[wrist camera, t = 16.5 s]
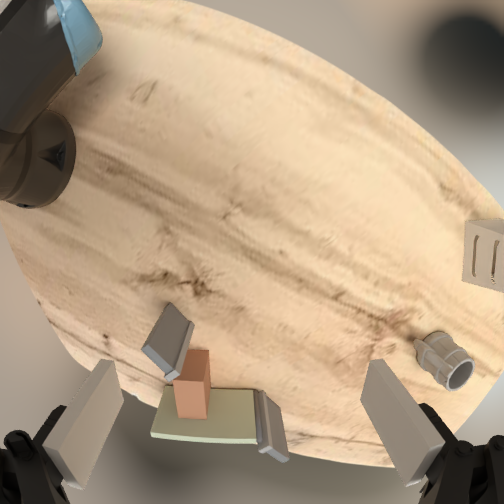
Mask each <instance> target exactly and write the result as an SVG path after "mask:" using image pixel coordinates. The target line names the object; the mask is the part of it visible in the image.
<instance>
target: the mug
mask: <svg viewBox="0 0 504 504" xmlns="http://www.w3.org/2000/svg"><path fill="white" fill-rule="evenodd" d="M413 344H414V348H415V349H416V350H417V351H418V352H417V354H418V356H417V359H418V362H419V364H420V366H421V368H422V369H423V370H425V371H428V372H429V373H431V374H432V375H433V376H434V379H435V380H436V381H437V383H439V384H441V385H443V386H444V387H445V388H446V389H447V390H448V391H456V390H459V389H460V388H461V387H463V386H464V385H465V384H466V382H467V381H468V380H469V378H470V377H471V376H472V374H473V372H474V368H475V362H474V360H473V359H472V358H471V357H470V356H469V355H467V352H466V351H465V350H464V349H463V348H462V347H459V346H458V345H457V344H456V343H454V342H453V339H452V337H451V336H450V335H448V334H447V333H443V332H435V333H432V334H430V335H429V336H428V337H426V338H425V339H424V341H421V340H419V339H415V340H414V342H413Z"/></svg>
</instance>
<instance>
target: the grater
mask: <svg viewBox="0 0 504 504" xmlns="http://www.w3.org/2000/svg"><path fill="white" fill-rule="evenodd" d="M476 235H478V236H480V237H479V238H478V240H477V247H476V261H475V274H476V277H474V276H473V274H472V262H473V248H474V239H475V236H476ZM496 240H498V241H499V243H498V246H497V252H496V263H495V272H494V273H493V274H491V271H492V261H493V249H494V244H495V241H496ZM491 276H493V277H491ZM491 278H494V280H493V279H491ZM491 280H493V281H492V282H495V283H494V284H493V283H492V282H491ZM462 281H463V282H467V283H470V284H474V285H478V286H481V287H485V288H489V289H492V290H496V291H499V292H503V293H504V220H503V219H501V218H496V219H484V220H472V221H465V243H464V260H463V272H462ZM495 284H496V285H495Z"/></svg>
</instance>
